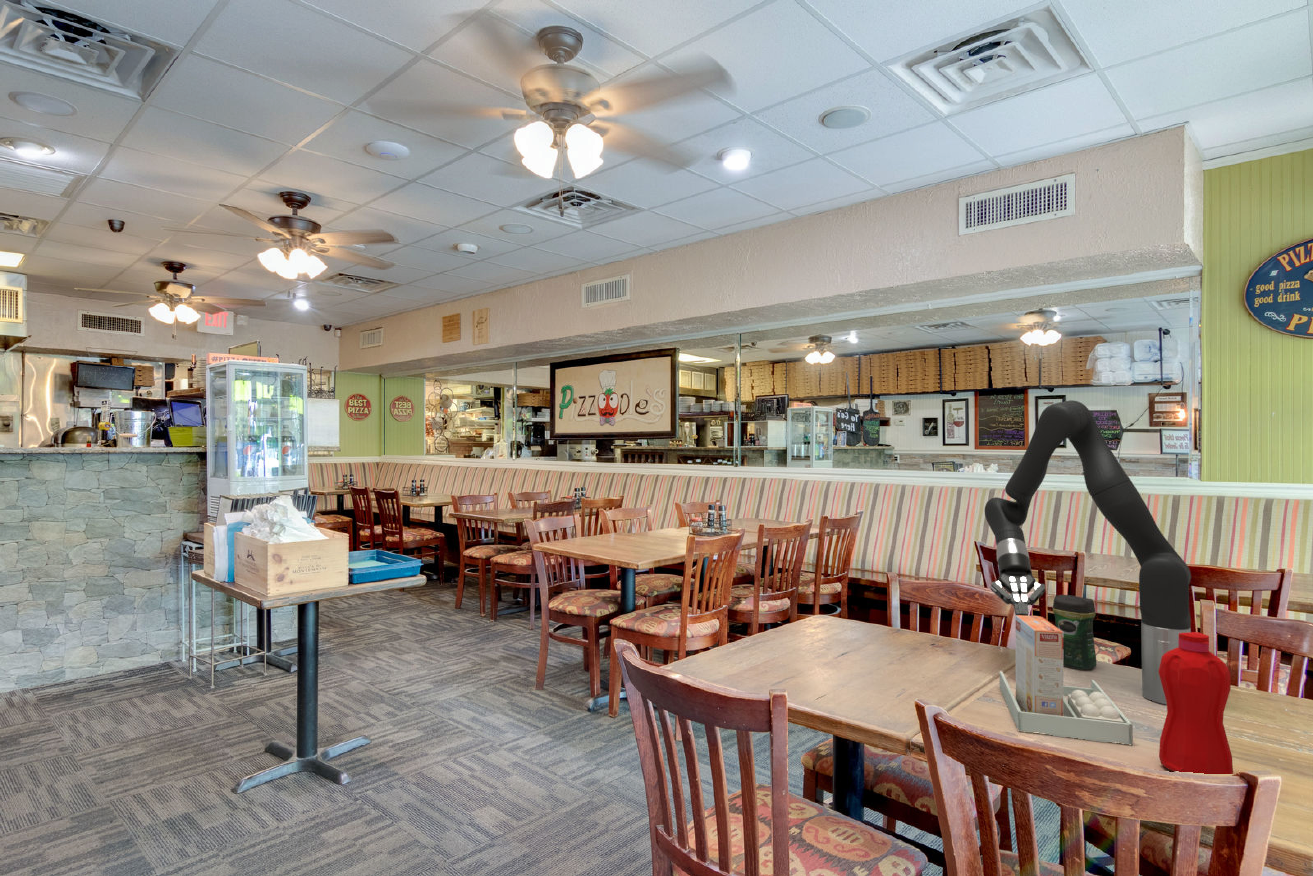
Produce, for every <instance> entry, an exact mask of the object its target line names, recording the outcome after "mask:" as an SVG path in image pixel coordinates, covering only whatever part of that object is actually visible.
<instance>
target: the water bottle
mask: <svg viewBox="0 0 1313 876" xmlns="http://www.w3.org/2000/svg"><path fill="white" fill-rule="evenodd" d="M1178 646H1179V647H1178V648H1175V649H1173V650H1170V651H1168V652H1167V653H1165V654H1164V655H1163V656H1162V658H1161V662H1160V666H1159V671H1158V672H1159V676H1160V679H1161V683H1162V687H1163V691H1164V694H1165V698H1166V702H1167V704H1166V717H1165V719H1164V722H1163V723H1164V724H1163V726H1162V730H1161V735H1160V737H1159V748H1158V749H1159V750H1158V751H1159V753H1158V757H1159V761H1160V764H1161V765H1162V766H1164V768H1165V767H1166V769H1167V768H1168V770H1169V771H1171V772H1173V771H1179V772H1193V773H1204V774H1234V768H1233V767H1234V766H1233V756H1232V755H1233V754H1232V751H1231V747H1230V743H1229V741H1228V736H1227V733H1226V729H1225V726H1224V713H1225V710H1226V707H1227V703H1228V699H1229V696H1230V692H1231V685H1232V684H1231V679H1232V677H1231V672H1230V669H1229V668H1228V666H1227V664H1226V663H1225V662H1224V661H1223V660H1222V659H1221V658H1220V657H1218V655H1215V654H1214V653H1212V652H1211V651H1210V635H1208V634H1205V633H1201V632H1197V631H1191V632H1190V633H1179V637H1178Z"/></svg>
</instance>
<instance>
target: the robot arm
mask: <svg viewBox="0 0 1313 876" xmlns="http://www.w3.org/2000/svg"><path fill="white" fill-rule="evenodd" d="M1066 439H1068V440H1069V442H1070V443H1071V445H1072V446H1073V448H1074V450H1075V451H1076V453H1077V454H1078V456H1079V459H1080V461H1081V465H1082V471H1083V472H1082V473H1083V478H1084V482H1085V483H1084V484H1085V487H1086V489H1087V492H1088V494H1089V496H1090V497H1091V498H1092V500H1093V502H1094V504H1095V505H1096V507H1097V508H1098V510H1099V511H1100V513H1101V515H1103V517H1104V518H1105V519H1106V521H1108V522H1109V524H1110V525H1111V526H1112V527H1113V528H1114V529H1115V530H1116V531H1117V532H1118V533H1119V535H1121V536H1122V538H1123V539H1124V540H1125V541H1126V543H1127V544H1128V546H1129V547H1130V549H1131V551H1132V552H1133V554H1134V556H1135V558H1136V560H1137V562H1138V564H1139V566H1140V569H1139V575H1138V591H1139V592H1138V593H1139V598H1138V599H1139V611H1140V617H1141V619H1140V620H1141V621H1140V622H1141V624H1140V625H1141V628H1140V629H1141V691H1142V693H1141V694H1142V695H1141V696H1142V697H1144V698H1145V699H1147V700H1149V701H1151V700H1152V701H1151V702H1154V703H1158V704H1162V705H1167V702H1166V698H1165V694H1164V691H1163V687H1162V683H1161V679H1160V676H1159V672H1158V671H1159V666H1160V662H1161V658H1162V656H1163V655H1164V654H1165V653H1167V652H1168V651H1170V650H1173V649H1175V648H1178V647H1179V646H1178V637H1179V633H1190V632H1192V631H1191V630H1192V629H1191V625H1192V624H1191V623H1192V622H1191V614H1190V612H1191V611H1190V588H1189V587H1190V583H1191V579H1192V573H1191V570H1190V567H1189V566H1188V565H1187V563H1186V562H1185V561H1184V560H1183V558H1182V557H1181V556H1180V555H1179V554H1178V552H1177V551H1176V550H1175V548H1174V547H1173V546H1172V545H1171V543H1170V542H1169V541H1168V540H1167V539H1166V538H1165V536H1164V535H1163V533H1162V532H1161V530H1160V529H1159V527H1158V524H1157V523H1156V521H1155V519H1154V517H1153V515H1152V513H1151V511H1150V509H1149V508H1148V506H1147V504H1146V502H1145V501H1144V498H1142V495H1141V494H1140V492H1139V491H1138V489H1137V487H1136V486H1135V485H1134V483H1133V481H1132V480H1131V478H1130V477H1129V476H1128V475H1127V473H1126V471H1125V470H1124V469H1123V466H1122V465H1121V463H1120V462H1119V460H1118V459H1117V457H1116V456H1115V454H1114V453H1113V451H1112V450H1111V448H1110V447H1109V444H1108V443H1107V442H1106V440H1105V438H1104V436H1103V434H1102V432H1101V430H1100V428H1099V426H1098V424H1097V422H1096V420H1095V418H1094V416H1093V415H1092V412H1091V411H1090V409H1089V408H1088V407H1087V406H1086V405H1085V404H1083V403H1082V402H1080V401H1078V400H1071V399H1070V400H1066V401H1061V402H1055V403H1053V404H1050V405H1048V406H1046V407H1045V408H1044V410H1043V411H1042V412H1041V414H1040V415H1039V418H1038V421H1037V423H1036V426H1035V429H1034V431H1033V434H1032V436H1031V438H1030V442H1029V443H1028V446H1027V448H1026V450H1025V453H1024V454H1023V456H1022V457H1021V461H1019V464H1018V465H1017V467H1016V469H1015V470H1014V472H1013V473H1012V475H1011V477H1010V478H1009V480H1008V481H1007V483H1006V485H1005V489H1004V490H1005V493H1006V494H1007V496H1008V497H1010V498H1011V499H1012V500H1008V499H1005V498H1002V497H992V498H990V499H988V501H987V502H986V503H985V506H984V516H985V520H986V522H987V523H988V525H989V528H990V529H991V531H992V533H993V535H994V539H995V545H996V562H997V567H998V572H999V573H998V574H999V576H998V580H997V581H992V582H991V585H990V590H991V591H992V593H993V594H995V595H996V596H997V597H998V599H999V598H1000V600H1001V601H1003V602H1004V603H1005V604H1006V605H1012V606H1013V607H1014V614H1015V616H1016V615H1023V616H1029V607H1028V606H1034V605H1035V603H1037V601H1039V599H1040V598H1041V597H1042V596H1043V595H1044V593H1045V591H1046V584H1044V583H1038V582H1037V581H1036V579H1035V577H1034V576H1033V571H1032V568H1031V567H1032V566H1031V561H1030V555H1029V551H1028V547H1027V546H1026V539H1025V534H1024V531H1023V529H1022V528H1021V527H1022V526H1023V525H1024V524H1025V523H1026V521H1027V517H1028V513H1029V508H1030V505H1031V503H1032V502H1031V501H1032V499H1033V497H1034V495H1035V493H1036V492H1037V491H1038V489H1039V488H1040V486H1041V484H1043V481H1044V479H1045V476H1046V474H1047V471H1048V468H1049V467H1048V465H1049V462H1050V459H1051V457H1052V456H1053V453H1054V452H1055V451H1056V449H1057V448H1058V447H1059V446H1060V445H1061V444H1062V443H1063V442H1064V441H1065V440H1066ZM1013 500H1014V501H1013ZM1032 589H1033V592H1032V594H1031V595H1030V596H1028V594H1029V593H1030V592H1031V591H1032Z"/></svg>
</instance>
